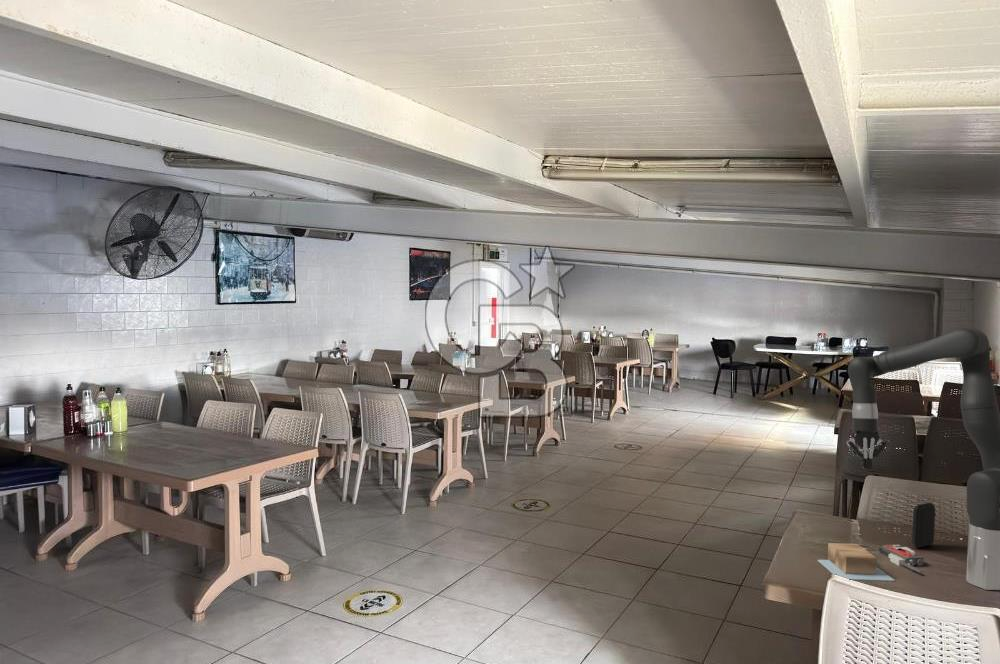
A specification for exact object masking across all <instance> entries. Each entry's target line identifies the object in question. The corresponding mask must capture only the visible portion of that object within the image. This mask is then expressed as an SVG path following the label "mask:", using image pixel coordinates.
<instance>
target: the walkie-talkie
mask: <svg viewBox="0 0 1000 664" xmlns="http://www.w3.org/2000/svg"><path fill="white" fill-rule="evenodd" d="M881 546H882V547H879V548H877V549H878V552H879V553H881V554H882V553H883V554H885V555H886V557H887V556H888V557H887V558H889V559H890V560H889V561H890V562H891V563H893V564H895V565H897V566H898V567H905V568H907V569H909V570H911V571H914V572H917V573H919V574H923V571H922V570H920V569H918V568H916V566H914V565H918V567H921V566H924V560H925V559H924V557H923V556H921V555H919V554H917V552H916V550H913V549H912V548H909V547H907V546H901V544H884V545H883V544H882V545H881ZM883 554H882V555H883ZM885 555H884V556H885Z"/></svg>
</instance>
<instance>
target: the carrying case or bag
mask: <svg viewBox="0 0 1000 664" xmlns="http://www.w3.org/2000/svg"><path fill="white" fill-rule="evenodd" d="M936 514H937V513H936V507H935V504H933V503H932V502H925V503H921V504H917V505H915V506H914V508H913V512H912V535H911V537H912V538H911V544H912V546H913V547H914V548H915V549H921V548H920V547H922V548H924V546H926V547H929V546H931V545H933V543H934V539H935V526H936V525H935V524H936ZM928 545H929V546H928ZM918 547H919V548H918Z"/></svg>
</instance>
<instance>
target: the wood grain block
mask: <svg viewBox="0 0 1000 664" xmlns="http://www.w3.org/2000/svg"><path fill="white" fill-rule="evenodd" d="M827 547H828V548H827V560H830V561H831V562H832V563H833V564H835V565H836V566H837V567H838V568H839V569H841V570H842V571H843V572H844V573H846V574H876V567H877V562H878V558H877V557H876V556H875V555H873V554H872V553H871V552H870V551H868V550H866V549H865V548H864V547H862V546H861V545H860V544H858V543H837V542H836V543H835V542H831V543H830V542H828V545H827Z"/></svg>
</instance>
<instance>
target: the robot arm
mask: <svg viewBox="0 0 1000 664" xmlns="http://www.w3.org/2000/svg"><path fill="white" fill-rule="evenodd" d="M990 351H991V349H990V341H989V338H988V336H987V335H986V334H985V332H983V331H982V330H979V329H977V328H972V327H959V328H956V329H954V330H951V331H949V332H946V333H944V334H942V335H939V336H937V337H935V338H932V339H931V338H930V339H928V340H926V341H922V342H918V343H914V344H910V345H905V346H902V347H900V346H899V347H896V348H891V349H888V350H885V351H882V352H880V353H879V354H877V355H872V356H855V357H853V358H852V359H850V361H849V362H848V366H847V373H848V379H849V382H850V387H851V389H852V409H851V410H852V411H851V412H852V415H851V416H852V433H853V434H852V436H851V438H850V439H849V440H846V441H845V445H847V447H848V448H849V449H850V450H851V452H852V453H853V454H854V456H856V457H859V458H860V465H861V468H862V470H864V471H871V469H872V468H873V458H877V457H879V455H880V454H881V452H883V450H884V448H886V446H887V445H888V442H886V441H883V439H881V438H880V434H879V409H878V405H877V398H878V397H877V390H876V387H875V386H873V384H872V383H871V381H872V380H871V379H872V378H876V377H879V376H882V375H886V374H888V373H892V372H893V373H894V372H897V371H903V370H906V369H911V368H913V367H918V366H920V365H922V364H925V363H928V362H932V361H937V360H942V359H953V358H954V359H955V358H956V359H957V358H958V359H959V360H960V365H961V370H962V373H963V374H962V375H963V377H962V378H963V382H962V387H961V395H960V410H961V411H960V412H961V418H962V422H963V427H964V428H965V430H966V431H965V432H966V433H967V434H968V436H969V437H970V439H971V440H972V442H973V444H975V446H976V448H977V449H978V452H979V454H980V457H981V462H982V468H983V470H981V471H976V472H973V473H971V475H970V476H969V477H968V479H967V483H966V513H967V515H968V518H969V519H968V520H969V521H968V537H967V539H968V540H967V541H968V542H967V553H966V554H967V559H966V578H965V581H966V582H967V583H969V584H971V585H972V586H975V587H978V588H980V589H983V590H986V591H987V590H989V591H991V590H992V591H1000V408H999V405H998V404H999V403H998V400H997V395H996V390H995V384H994V380H993V376H992V370H991V369H992V368H991V352H990ZM856 445H857V446H856Z"/></svg>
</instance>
